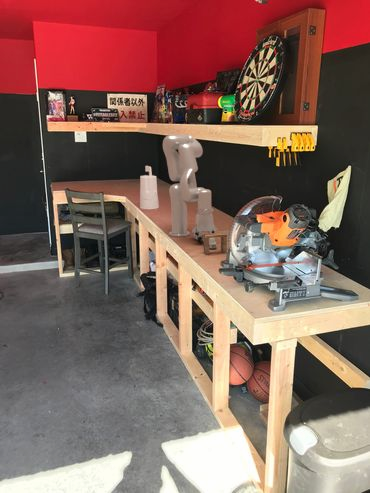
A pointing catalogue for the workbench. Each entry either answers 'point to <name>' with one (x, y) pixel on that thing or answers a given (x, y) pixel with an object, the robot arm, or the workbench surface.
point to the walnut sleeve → (214, 235)
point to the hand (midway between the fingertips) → (204, 242)
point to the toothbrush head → (211, 240)
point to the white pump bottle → (148, 191)
